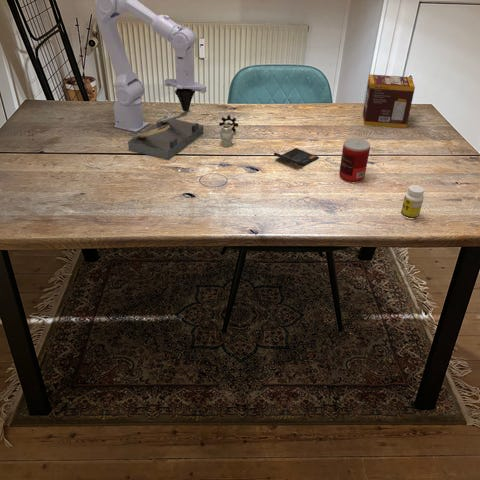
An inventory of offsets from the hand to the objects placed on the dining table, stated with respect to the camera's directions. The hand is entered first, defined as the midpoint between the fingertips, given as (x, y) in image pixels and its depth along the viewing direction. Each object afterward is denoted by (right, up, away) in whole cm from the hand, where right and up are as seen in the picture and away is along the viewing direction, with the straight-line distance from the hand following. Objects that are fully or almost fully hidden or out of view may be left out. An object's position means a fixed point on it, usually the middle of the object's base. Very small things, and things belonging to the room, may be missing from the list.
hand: (186, 110), depth 177 cm
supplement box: (+71, +1, +21) cm, 74 cm away
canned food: (+52, -24, -16) cm, 59 cm away
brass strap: (-10, -9, -7) cm, 15 cm away
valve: (+14, -9, +4) cm, 17 cm away
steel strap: (-4, -2, +3) cm, 5 cm away
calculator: (+36, -18, -7) cm, 41 cm away
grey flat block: (-6, -10, +1) cm, 12 cm away
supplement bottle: (+64, -37, -33) cm, 81 cm away
